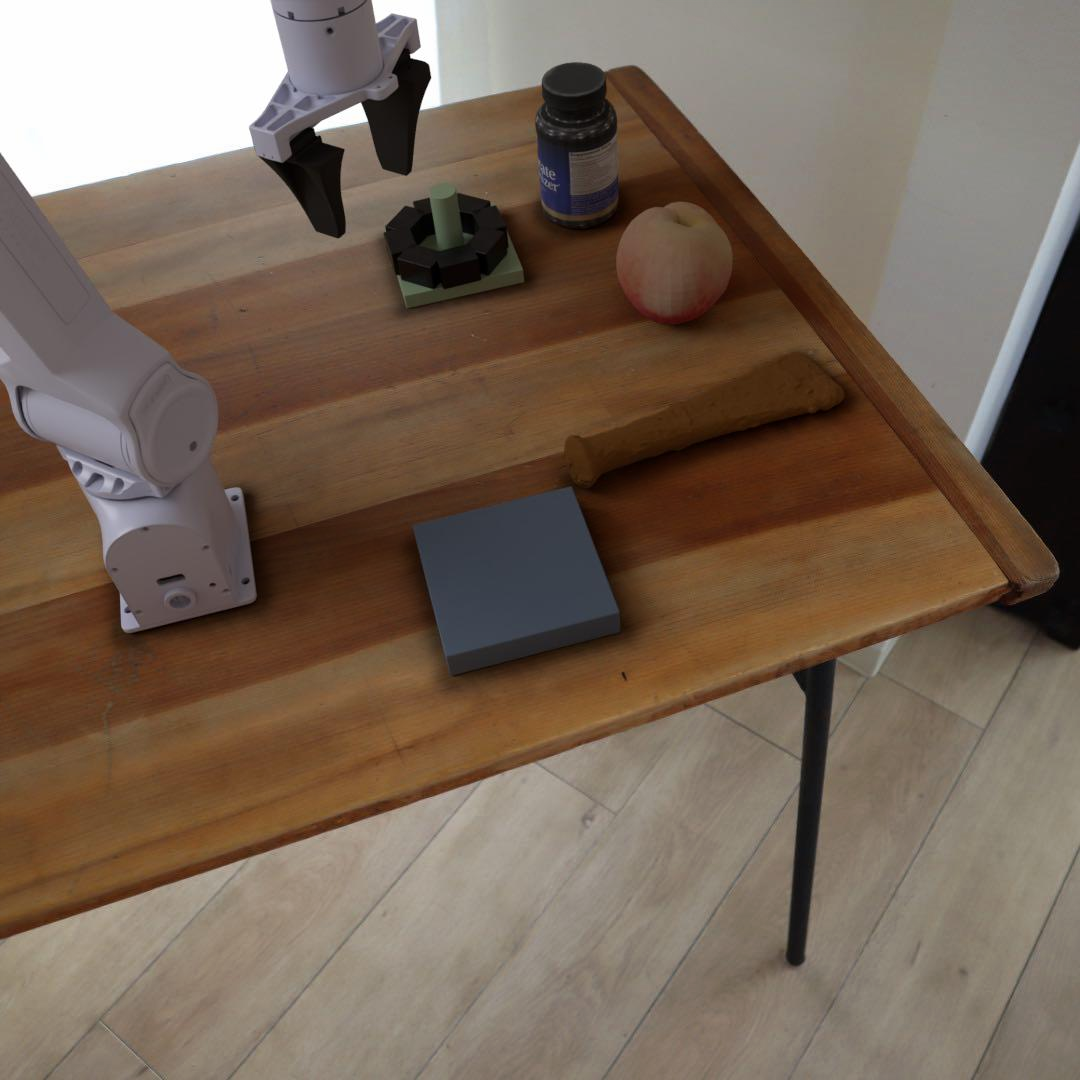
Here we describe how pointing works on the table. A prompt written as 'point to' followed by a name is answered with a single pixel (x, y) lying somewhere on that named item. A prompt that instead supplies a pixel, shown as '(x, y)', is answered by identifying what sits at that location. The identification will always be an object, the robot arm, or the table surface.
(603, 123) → the pill bottle
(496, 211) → the black segmented ring
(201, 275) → the table surface
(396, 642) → the table surface
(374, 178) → the table surface
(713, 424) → the primitive tool
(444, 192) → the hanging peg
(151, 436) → the robot arm
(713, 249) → the fruit
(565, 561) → the gray square coaster
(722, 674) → the table surface
